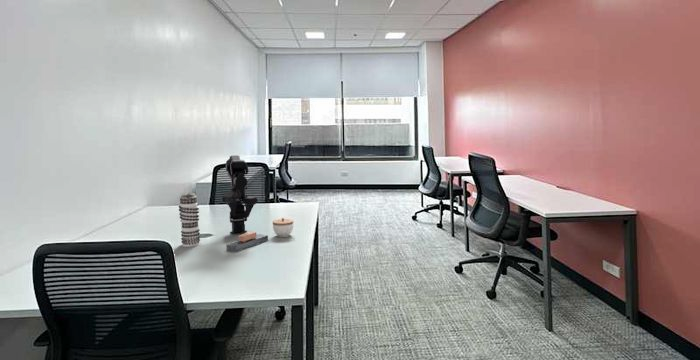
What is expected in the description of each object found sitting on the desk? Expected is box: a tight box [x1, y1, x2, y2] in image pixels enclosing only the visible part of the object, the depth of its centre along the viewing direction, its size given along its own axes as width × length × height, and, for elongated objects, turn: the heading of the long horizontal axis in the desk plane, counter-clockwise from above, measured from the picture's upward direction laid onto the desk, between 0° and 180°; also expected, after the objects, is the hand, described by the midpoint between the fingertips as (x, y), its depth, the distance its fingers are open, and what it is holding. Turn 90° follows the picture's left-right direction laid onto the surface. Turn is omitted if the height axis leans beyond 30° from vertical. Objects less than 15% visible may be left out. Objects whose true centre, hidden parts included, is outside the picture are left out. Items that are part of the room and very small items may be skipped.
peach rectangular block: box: [238, 231, 257, 242], centre depth 205 cm, size 3×9×6 cm, turn 150°
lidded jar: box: [272, 217, 294, 238], centre depth 221 cm, size 11×11×9 cm
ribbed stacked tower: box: [178, 192, 201, 248], centre depth 206 cm, size 9×9×25 cm
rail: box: [225, 233, 269, 252], centre depth 205 cm, size 6×22×2 cm, turn 150°
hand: (240, 216), depth 214 cm, fingers open, 9 cm apart
